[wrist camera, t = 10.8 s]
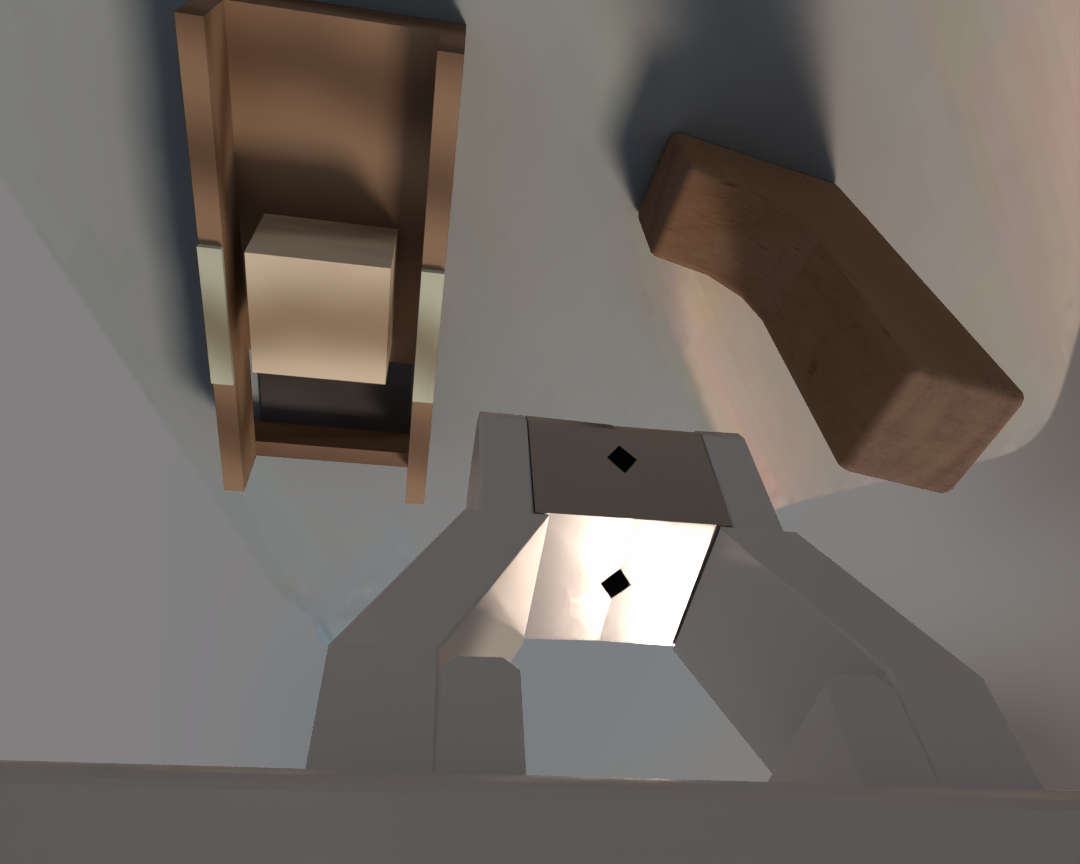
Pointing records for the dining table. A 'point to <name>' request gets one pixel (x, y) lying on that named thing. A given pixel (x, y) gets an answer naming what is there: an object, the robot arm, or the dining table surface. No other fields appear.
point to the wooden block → (834, 312)
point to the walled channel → (321, 205)
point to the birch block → (321, 298)
